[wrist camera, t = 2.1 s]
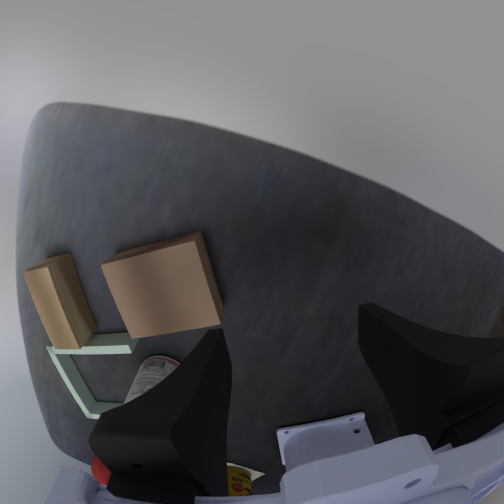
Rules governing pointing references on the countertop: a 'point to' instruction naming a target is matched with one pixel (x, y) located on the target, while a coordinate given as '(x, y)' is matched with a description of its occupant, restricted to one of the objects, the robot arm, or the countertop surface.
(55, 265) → the block
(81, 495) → the robot arm
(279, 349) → the countertop surface
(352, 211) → the countertop surface
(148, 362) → the pill bottle
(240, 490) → the condiment
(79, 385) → the corral
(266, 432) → the countertop surface
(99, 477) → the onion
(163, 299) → the tan cardboard block
